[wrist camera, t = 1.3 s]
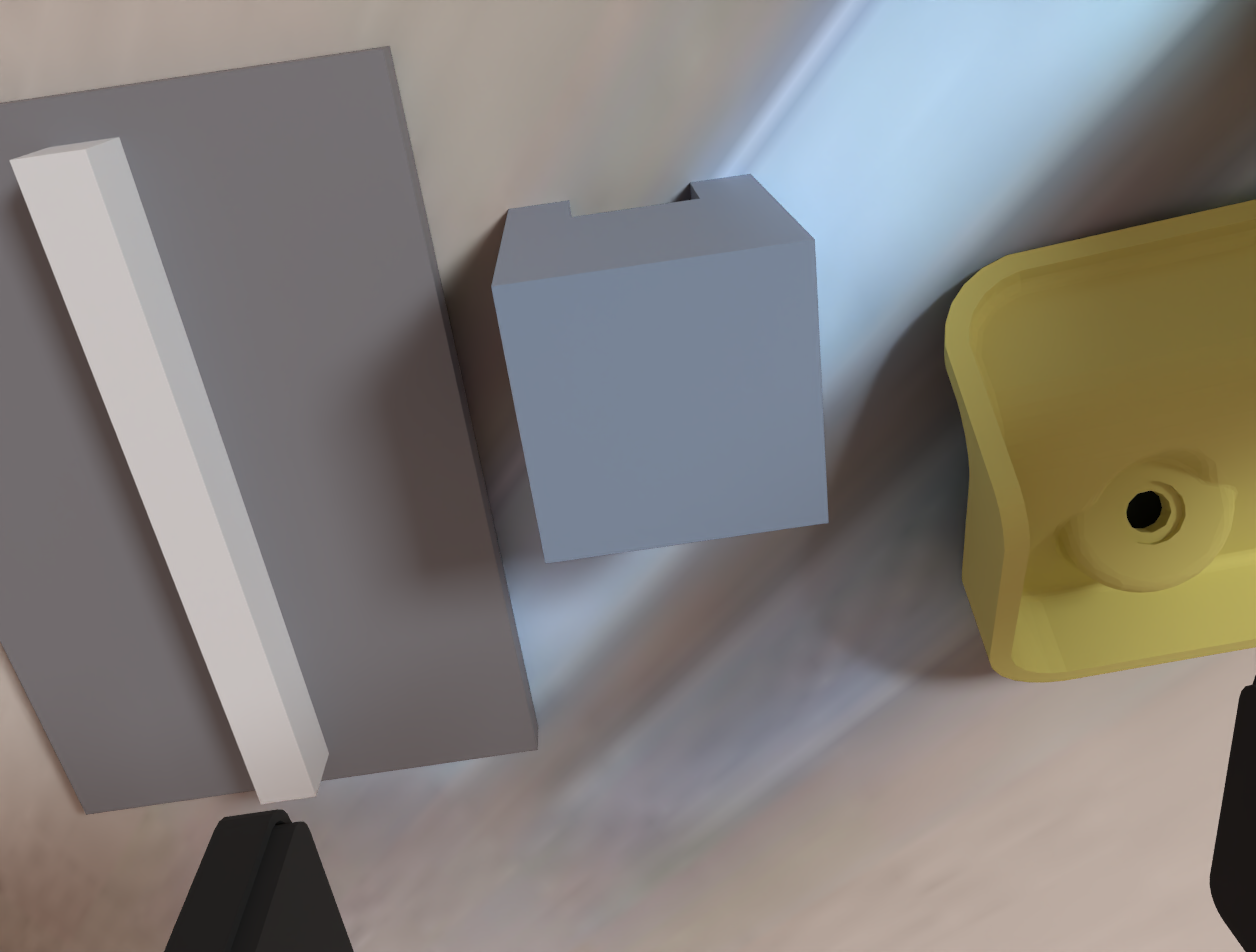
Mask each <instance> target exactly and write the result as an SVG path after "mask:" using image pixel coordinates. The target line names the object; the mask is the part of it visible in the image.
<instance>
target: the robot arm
mask: <svg viewBox="0 0 1256 952" xmlns="http://www.w3.org/2000/svg"><path fill="white" fill-rule="evenodd" d="M1210 889H1211V894H1212V898H1213V901H1214V904H1215V906H1216V908H1217V910H1218V912H1219V914H1220V916H1221V917H1222V919H1223V921H1224V922H1225V923H1226V925H1227V926H1228V928H1229V929H1230V930H1231V932H1232V933H1233V935H1234V936H1235V937H1236V939H1237V940H1238V942H1239V943H1240V944H1241V946H1242V947H1243V949H1244V950H1245V951H1246V952H1256V676H1255V679H1254V682H1253V685H1249V686H1246V687H1245V688H1244V689H1243V690H1242V691H1241V694H1240V697H1239V703H1238V709H1237V715H1236V721H1235V727H1234V733H1233V739H1232V745H1231V752H1230V758H1229V764H1228V770H1227V776H1226V782H1225V788H1224V794H1223V800H1222V806H1221V812H1220V818H1219V824H1218V830H1217V836H1216V842H1215V849H1214V855H1213V861H1212V867H1211V873H1210ZM164 952H354V951H353V949H352V946H351V943H350V940H349V938H348V935H347V932H346V929H345V926H344V924H343V921H342V918H341V915H340V913H339V910H338V907H337V904H336V902H335V899H334V896H333V893H332V890H331V888H330V885H329V882H328V879H327V877H326V874H325V871H324V868H323V866H322V863H321V860H320V857H319V854H318V852H317V849H316V846H315V843H314V841H313V838H312V835H311V832H310V830H309V828H308V826H307V824H306V823H305V822H294V823H292V822H291V820H290V818H289V816H288V814H287V813H286V812H285V811H284V810H271V811H265V812H258V813H251V814H244V815H237V816H230V817H224V818H223V819H222V820H221V821H219V823H218V825H217V826H216V828H215V830H214V832H213V835H212V837H211V840H210V842H209V844H208V847H207V849H206V852H205V854H204V856H203V859H202V861H201V864H200V866H199V869H198V871H197V873H196V876H195V878H194V881H193V883H192V885H191V888H190V890H189V893H188V895H187V898H186V900H185V902H184V905H183V907H182V910H181V912H180V914H179V917H178V919H177V922H176V924H175V927H174V929H173V931H172V934H171V936H170V939H169V941H168V943H167V946H166V948H165V951H164Z"/></svg>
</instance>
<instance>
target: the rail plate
mask: <svg viewBox="0 0 1256 952" xmlns="http://www.w3.org/2000/svg"><path fill="white" fill-rule="evenodd" d="M0 642H1V644H2V646H3V648H4V650H5V652H6V654H7V656H8V658H9V660H10V662H11V664H12V666H13V668H14V670H15V672H16V674H17V676H18V678H19V680H20V682H21V684H22V686H23V688H24V690H25V692H26V694H27V696H28V698H29V700H30V702H31V704H32V706H33V708H34V710H35V712H36V714H37V716H38V718H39V720H40V722H41V724H42V726H43V728H44V730H45V732H46V735H47V737H48V739H49V741H50V743H51V745H52V747H53V749H54V751H55V753H56V755H57V757H58V759H59V761H60V763H61V765H62V767H63V769H64V771H65V773H66V775H67V777H68V779H69V781H70V783H71V785H72V787H73V789H74V791H75V793H76V795H77V797H78V799H79V801H80V803H81V805H82V807H83V809H84V811H85V813H86V815H87V814H94V813H101V812H108V811H115V810H122V809H129V808H135V807H142V806H149V805H156V804H163V803H170V802H177V801H184V800H191V799H198V798H205V797H212V796H219V795H226V794H233V793H240V792H247V791H254V790H256V793H257V796H258V798H259V801H260V803H261V804H268V803H274V802H281V801H288V800H295V799H302V798H309V797H316V795H317V792H318V789H319V785H320V782H321V781H323V780H330V779H337V778H344V777H351V776H358V775H365V774H372V773H379V772H386V771H393V770H400V769H407V768H414V767H421V766H428V765H435V764H442V763H449V762H456V761H462V760H469V759H476V758H483V757H490V756H497V755H504V754H511V753H518V752H525V751H532V750H538V725H537V720H536V716H535V711H534V706H533V702H532V697H531V693H530V688H529V683H528V679H527V674H526V670H525V665H524V660H523V656H522V651H521V647H520V642H519V637H518V633H517V628H516V624H515V619H514V615H513V610H512V605H511V601H510V596H509V592H508V587H507V582H506V578H505V573H504V569H503V564H502V559H501V555H500V550H499V546H498V541H497V537H496V532H495V527H494V523H493V518H492V514H491V509H490V504H489V500H488V495H487V491H486V486H485V481H484V477H483V472H482V468H481V463H480V459H479V454H478V449H477V445H476V440H475V436H474V431H473V426H472V422H471V417H470V413H469V408H468V403H467V399H466V394H465V390H464V385H463V381H462V376H461V371H460V367H459V362H458V358H457V353H456V348H455V344H454V339H453V335H452V330H451V325H450V321H449V316H448V312H447V307H446V303H445V298H444V293H443V289H442V284H441V280H440V275H439V270H438V266H437V261H436V257H435V252H434V247H433V243H432V238H431V234H430V229H429V225H428V220H427V215H426V211H425V206H424V202H423V197H422V192H421V188H420V183H419V179H418V174H417V169H416V165H415V160H414V156H413V151H412V146H411V142H410V137H409V133H408V128H407V124H406V119H405V114H404V110H403V105H402V101H401V96H400V91H399V87H398V82H397V78H396V73H395V68H394V64H393V59H392V55H391V50H390V46H387V47H380V48H373V49H366V50H359V51H353V52H346V53H339V54H332V55H325V56H318V57H312V58H305V59H298V60H291V61H284V62H277V63H271V64H264V65H257V66H250V67H243V68H236V69H230V70H223V71H216V72H209V73H202V74H196V75H189V76H182V77H175V78H168V79H161V80H155V81H148V82H141V83H134V84H127V85H120V86H114V87H107V88H100V89H93V90H86V91H79V92H73V93H66V94H59V95H52V96H45V97H39V98H32V99H25V100H18V101H11V102H4V103H0Z"/></svg>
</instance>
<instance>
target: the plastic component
mask: <svg viewBox="0 0 1256 952" xmlns="http://www.w3.org/2000/svg"><path fill="white" fill-rule="evenodd" d="M944 360H945V367H946V370H947V373H948V376H949V379H950V382H951V385H952V388H953V391H954V394H955V397H956V400H957V403H958V407H959V410H960V415H961V419H962V424H963V428H964V432H965V438H966V445H967V451H968V459H969V490H968V502H967V515H966V527H965V540H964V552H963V565H962V582H963V585H964V588H965V591H966V594H967V597H968V600H969V603H970V606H971V609H972V612H973V615H974V617H975V620H976V623H977V626H978V629H979V632H980V635H981V638H982V641H983V644H984V647H985V650H986V653H987V656H988V658H989V661H990V664H991V666H992V669H993V670H994V671H996V672H997V673H998V674H1000V675H1001V676H1003V677H1006V678H1009V679H1012V680H1016V681H1024V682H1054V681H1065V680H1070V679H1076V678H1082V677H1088V676H1093V675H1099V674H1105V673H1110V672H1116V671H1122V670H1128V669H1133V668H1139V667H1145V666H1151V665H1156V664H1162V663H1168V662H1174V661H1179V660H1185V659H1191V658H1196V657H1202V656H1208V655H1214V654H1219V653H1225V652H1231V651H1237V650H1242V649H1248V648H1254V647H1256V199H1255V200H1250V201H1246V202H1242V203H1237V204H1233V205H1228V206H1224V207H1219V208H1215V209H1210V210H1206V211H1201V212H1197V213H1193V214H1188V215H1184V216H1179V217H1175V218H1170V219H1166V220H1161V221H1157V222H1152V223H1148V224H1144V225H1139V226H1135V227H1130V228H1126V229H1121V230H1117V231H1112V232H1108V233H1104V234H1099V235H1095V236H1090V237H1086V238H1081V239H1077V240H1072V241H1068V242H1063V243H1059V244H1055V245H1050V246H1046V247H1041V248H1037V249H1032V250H1028V251H1023V252H1019V253H1014V254H1010V255H1006V256H1004V257H1002V258H1000V259H999V260H997V261H995V262H993V263H991V264H989V265H987V266H985V267H984V268H982V269H981V270H980V271H978V272H977V273H976V274H975V275H974V276H973V277H972V278H971V279H969V280H968V281H967V282H966V283H965V284H964V285H963V287H962V288H961V290H960V291H959V293H958V294H957V296H956V297H955V299H954V300H953V302H952V303H951V307H950V310H949V314H948V317H947V320H946V324H945V341H944ZM1150 490H1151V491H1153V492H1154V493H1156V494H1157V495H1158V496H1159V498H1160V502H1161V506H1162V510H1161V513H1160V516H1159V518H1158V519H1157V520H1156V522H1155V523H1154V524H1152V525H1150V526H1148V527H1146V528H1133V527H1132V526H1131V525H1130V523H1129V522H1128V520H1127V514H1126V511H1127V507H1128V504H1129V502H1130V501H1131V500H1132V499H1133V498H1134V497H1135V496H1136V495H1137V494H1138V493H1142V492H1146V491H1150Z"/></svg>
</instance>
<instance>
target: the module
mask: <svg viewBox="0 0 1256 952" xmlns="http://www.w3.org/2000/svg"><path fill="white" fill-rule="evenodd" d="M690 188H691V198H692V200H686V201H680V202H673V203H666V204H659V205H652V206H645V207H638V208H631V209H625V210H618V211H611V212H604V213H597V214H590V215H583V216H577V217H571V210H570V204H569V200H568V201H561V202H555V203H548V204H541V205H534V206H527V207H520V208H513V209H509V210H508V214H507V218H506V223H505V227H504V232H503V236H502V241H501V245H500V250H499V254H498V259H497V263H496V267H495V272H494V276H493V281H492V285H491V288H492V293H493V298H494V303H495V308H496V313H497V319H498V325H499V330H500V335H501V340H502V346H503V351H504V356H505V361H506V366H507V371H508V376H509V381H510V386H511V391H512V397H513V402H514V407H515V412H516V417H517V422H518V427H519V432H520V437H521V443H522V448H523V453H524V458H525V463H526V468H527V473H528V478H529V483H530V489H531V494H532V499H533V504H534V509H535V514H536V519H537V523H538V528H539V533H540V538H541V543H542V549H543V554H544V559H545V564H547V563H554V562H561V561H568V560H574V559H581V558H588V557H595V556H602V555H609V554H616V553H623V552H630V551H637V550H644V549H651V548H658V547H664V546H671V545H678V544H685V543H692V542H699V541H706V540H713V539H720V538H727V537H734V536H741V535H748V534H754V533H761V532H768V531H775V530H782V529H789V528H796V527H803V526H810V525H817V524H824V523H829V522H828V501H827V481H826V461H825V440H824V420H823V399H822V379H821V359H820V338H819V318H818V298H817V277H816V257H815V239H814V238H813V237H812V236H811V235H810V234H809V233H808V232H807V231H806V230H805V229H804V228H803V227H802V226H801V225H800V224H799V223H798V222H797V221H796V220H795V219H794V218H793V217H792V216H791V215H790V214H789V213H788V212H787V211H786V210H785V209H784V208H783V207H782V206H781V205H780V204H779V203H778V202H777V201H776V199H775V198H774V197H773V196H772V195H771V194H770V193H769V192H768V191H767V190H766V189H765V188H764V187H763V186H762V185H761V184H760V183H759V182H758V181H757V180H756V179H755V178H754V177H753V176H752V175H751V174H747V175H740V176H733V177H726V178H719V179H712V180H705V181H699V182H692V183H690Z"/></svg>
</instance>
